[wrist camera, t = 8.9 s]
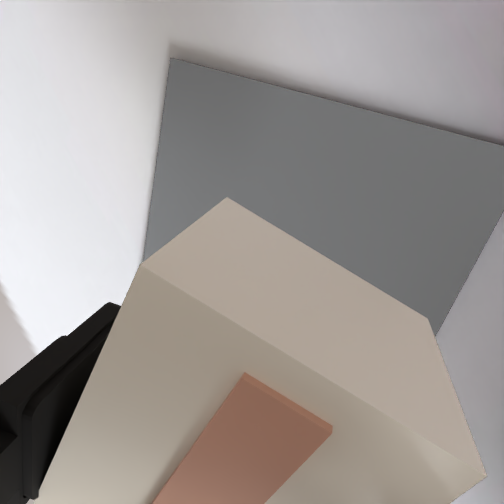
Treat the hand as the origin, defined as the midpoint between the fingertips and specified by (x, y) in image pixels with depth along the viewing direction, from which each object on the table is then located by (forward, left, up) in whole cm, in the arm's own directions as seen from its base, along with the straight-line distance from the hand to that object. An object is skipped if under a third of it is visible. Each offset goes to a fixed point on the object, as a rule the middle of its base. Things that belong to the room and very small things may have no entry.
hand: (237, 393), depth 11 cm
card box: (0, 0, -1) cm, 1 cm away
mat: (0, 0, -15) cm, 15 cm away
